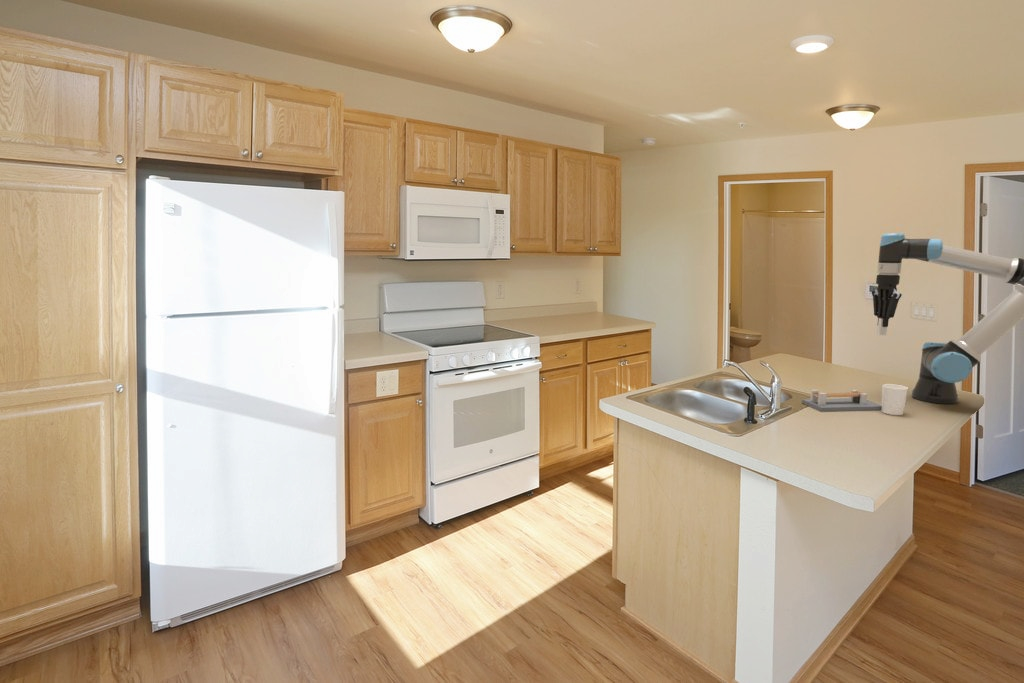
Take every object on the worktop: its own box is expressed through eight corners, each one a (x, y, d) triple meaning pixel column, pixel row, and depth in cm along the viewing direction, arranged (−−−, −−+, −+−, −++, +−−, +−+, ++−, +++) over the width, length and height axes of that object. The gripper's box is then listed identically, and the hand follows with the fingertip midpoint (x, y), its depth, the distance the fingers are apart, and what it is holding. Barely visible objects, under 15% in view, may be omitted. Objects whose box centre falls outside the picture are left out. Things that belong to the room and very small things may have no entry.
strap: (859, 394, 223) (860, 391, 222) (865, 396, 219) (865, 393, 219) (813, 396, 221) (813, 393, 220) (818, 398, 218) (818, 395, 217)
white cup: (908, 416, 208) (912, 389, 207) (884, 415, 210) (887, 388, 208) (899, 410, 216) (902, 384, 214) (875, 409, 217) (878, 383, 216)
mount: (861, 401, 228) (863, 386, 227) (883, 410, 216) (885, 394, 215) (801, 402, 225) (803, 387, 224) (821, 411, 214) (822, 395, 213)
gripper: (867, 273, 228) (860, 332, 232) (892, 275, 215) (884, 337, 219) (884, 273, 229) (878, 332, 233) (910, 275, 216) (903, 337, 220)
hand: (881, 334), depth 226 cm, fingers closed
